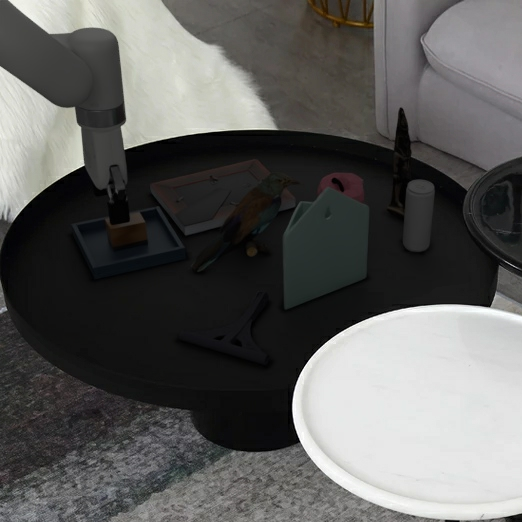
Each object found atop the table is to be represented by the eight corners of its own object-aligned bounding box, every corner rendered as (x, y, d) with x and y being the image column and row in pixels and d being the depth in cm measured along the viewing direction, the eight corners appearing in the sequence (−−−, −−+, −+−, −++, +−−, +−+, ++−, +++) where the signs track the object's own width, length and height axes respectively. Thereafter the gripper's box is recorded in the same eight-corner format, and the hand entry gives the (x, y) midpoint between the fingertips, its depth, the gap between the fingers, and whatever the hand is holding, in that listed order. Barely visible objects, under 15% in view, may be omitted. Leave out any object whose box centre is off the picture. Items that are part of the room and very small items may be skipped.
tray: (94, 279, 164) (92, 268, 162) (73, 235, 173) (70, 223, 172) (186, 259, 170) (185, 247, 168) (160, 217, 179) (158, 205, 178)
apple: (363, 238, 177) (365, 189, 170) (314, 235, 177) (315, 186, 170) (365, 210, 184) (368, 162, 178) (319, 207, 184) (319, 159, 178)
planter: (340, 256, 172) (342, 152, 160) (367, 278, 168) (372, 173, 155) (259, 286, 165) (255, 180, 152) (285, 310, 160) (283, 203, 147)
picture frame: (185, 237, 175) (295, 209, 183) (184, 225, 173) (295, 197, 182) (151, 194, 185) (256, 169, 194) (149, 182, 183) (256, 157, 192)
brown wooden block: (113, 252, 169) (110, 229, 166) (108, 241, 171) (104, 218, 168) (148, 244, 171) (145, 221, 168) (142, 234, 173) (139, 211, 170)
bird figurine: (209, 285, 163) (257, 173, 157) (177, 259, 168) (223, 149, 163) (268, 296, 173) (315, 191, 167) (236, 271, 179) (281, 168, 173)
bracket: (305, 313, 160) (305, 298, 158) (264, 367, 149) (263, 352, 147) (225, 291, 163) (224, 277, 161) (179, 342, 153) (177, 328, 151)
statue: (412, 226, 181) (420, 124, 168) (382, 212, 184) (387, 111, 171) (426, 218, 183) (435, 117, 170) (396, 203, 187) (403, 103, 174)
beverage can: (420, 256, 173) (426, 196, 166) (397, 247, 175) (401, 187, 167) (434, 244, 177) (440, 184, 169) (411, 235, 178) (415, 176, 171)
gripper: (62, 92, 159) (76, 188, 170) (90, 139, 147) (103, 238, 158) (109, 86, 162) (120, 180, 173) (140, 132, 150) (149, 230, 161)
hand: (112, 208), depth 165 cm, fingers open, 9 cm apart
